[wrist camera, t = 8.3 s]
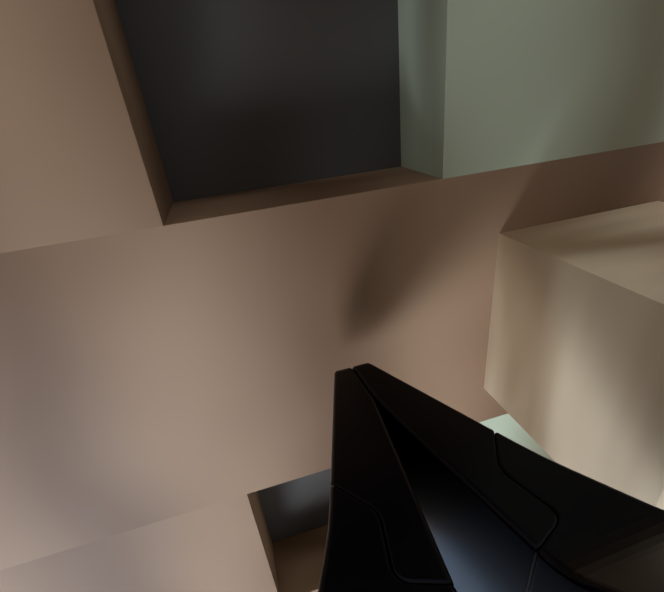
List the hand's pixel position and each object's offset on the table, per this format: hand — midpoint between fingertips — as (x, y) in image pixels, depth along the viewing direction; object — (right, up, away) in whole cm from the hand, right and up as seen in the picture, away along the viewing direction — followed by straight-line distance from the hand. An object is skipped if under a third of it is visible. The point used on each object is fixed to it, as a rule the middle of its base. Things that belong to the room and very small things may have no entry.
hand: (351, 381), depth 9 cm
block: (+6, +2, +2) cm, 7 cm away
